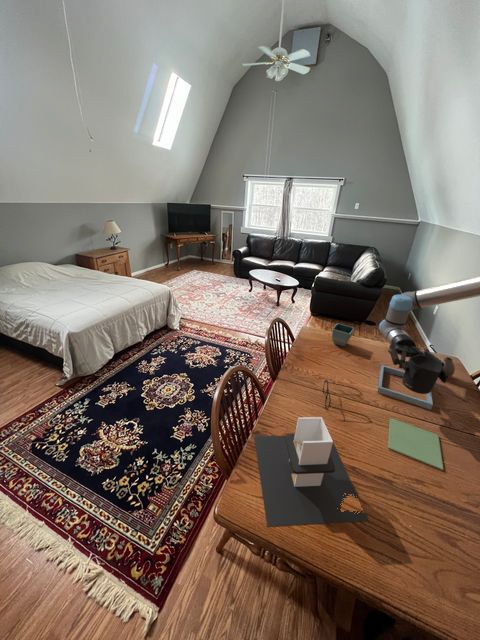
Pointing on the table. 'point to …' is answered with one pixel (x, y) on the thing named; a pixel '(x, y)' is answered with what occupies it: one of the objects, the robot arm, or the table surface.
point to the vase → (448, 366)
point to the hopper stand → (304, 477)
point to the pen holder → (423, 374)
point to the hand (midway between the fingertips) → (430, 377)
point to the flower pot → (341, 334)
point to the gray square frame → (400, 396)
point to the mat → (415, 443)
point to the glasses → (330, 398)
